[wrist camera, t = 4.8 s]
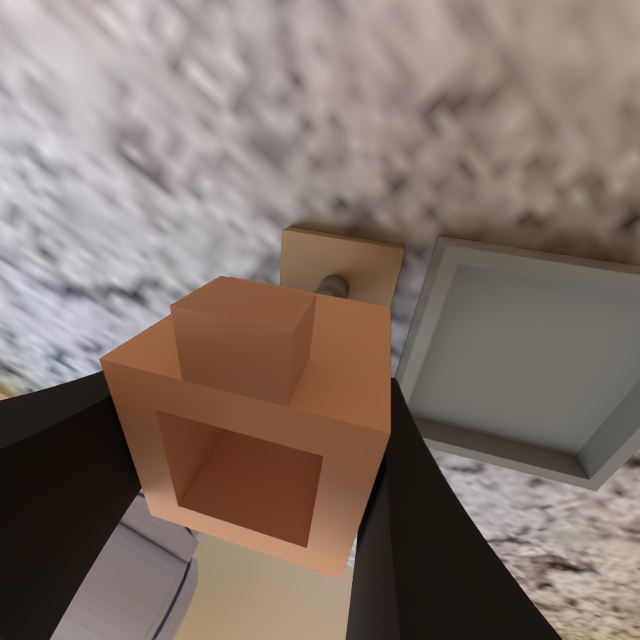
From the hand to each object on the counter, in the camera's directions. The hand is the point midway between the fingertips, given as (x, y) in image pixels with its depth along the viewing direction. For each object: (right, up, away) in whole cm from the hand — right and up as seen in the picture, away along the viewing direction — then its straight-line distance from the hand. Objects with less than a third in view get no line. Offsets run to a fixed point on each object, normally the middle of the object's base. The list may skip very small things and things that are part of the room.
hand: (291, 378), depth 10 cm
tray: (+13, -1, +8) cm, 16 cm away
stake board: (+2, +3, +10) cm, 10 cm away
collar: (0, +1, +1) cm, 1 cm away
